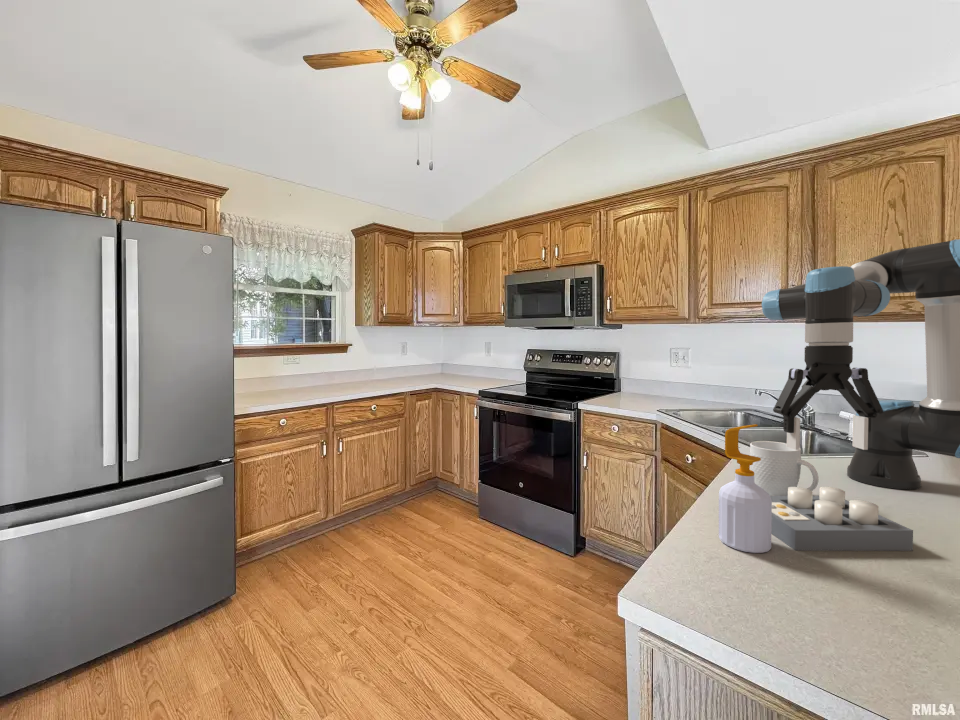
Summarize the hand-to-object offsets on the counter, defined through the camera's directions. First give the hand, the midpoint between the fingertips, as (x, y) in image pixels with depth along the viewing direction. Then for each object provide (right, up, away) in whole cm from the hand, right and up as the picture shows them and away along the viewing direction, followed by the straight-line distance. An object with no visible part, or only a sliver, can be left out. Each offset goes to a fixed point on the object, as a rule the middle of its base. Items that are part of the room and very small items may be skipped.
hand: (826, 448), depth 85 cm
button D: (+1, -16, 0) cm, 16 cm away
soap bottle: (-17, -19, -1) cm, 26 cm away
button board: (+2, -19, +4) cm, 19 cm away
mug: (+8, -18, +24) cm, 31 cm away
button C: (+1, -16, +8) cm, 18 cm away
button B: (+8, -16, 0) cm, 18 cm away
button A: (+8, -16, +8) cm, 19 cm away
